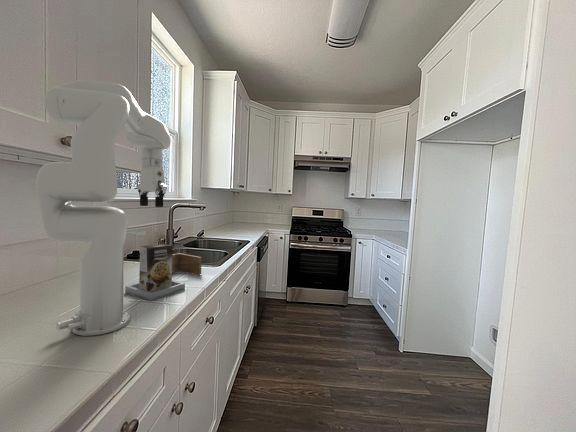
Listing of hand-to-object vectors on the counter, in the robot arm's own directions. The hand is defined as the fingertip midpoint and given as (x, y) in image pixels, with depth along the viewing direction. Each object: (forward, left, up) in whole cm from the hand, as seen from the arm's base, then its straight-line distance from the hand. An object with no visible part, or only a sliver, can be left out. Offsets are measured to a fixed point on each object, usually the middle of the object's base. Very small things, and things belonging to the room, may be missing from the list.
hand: (151, 206), depth 111 cm
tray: (-8, -15, -30) cm, 35 cm away
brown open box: (+8, -5, -30) cm, 32 cm away
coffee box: (-8, -15, -30) cm, 34 cm away
